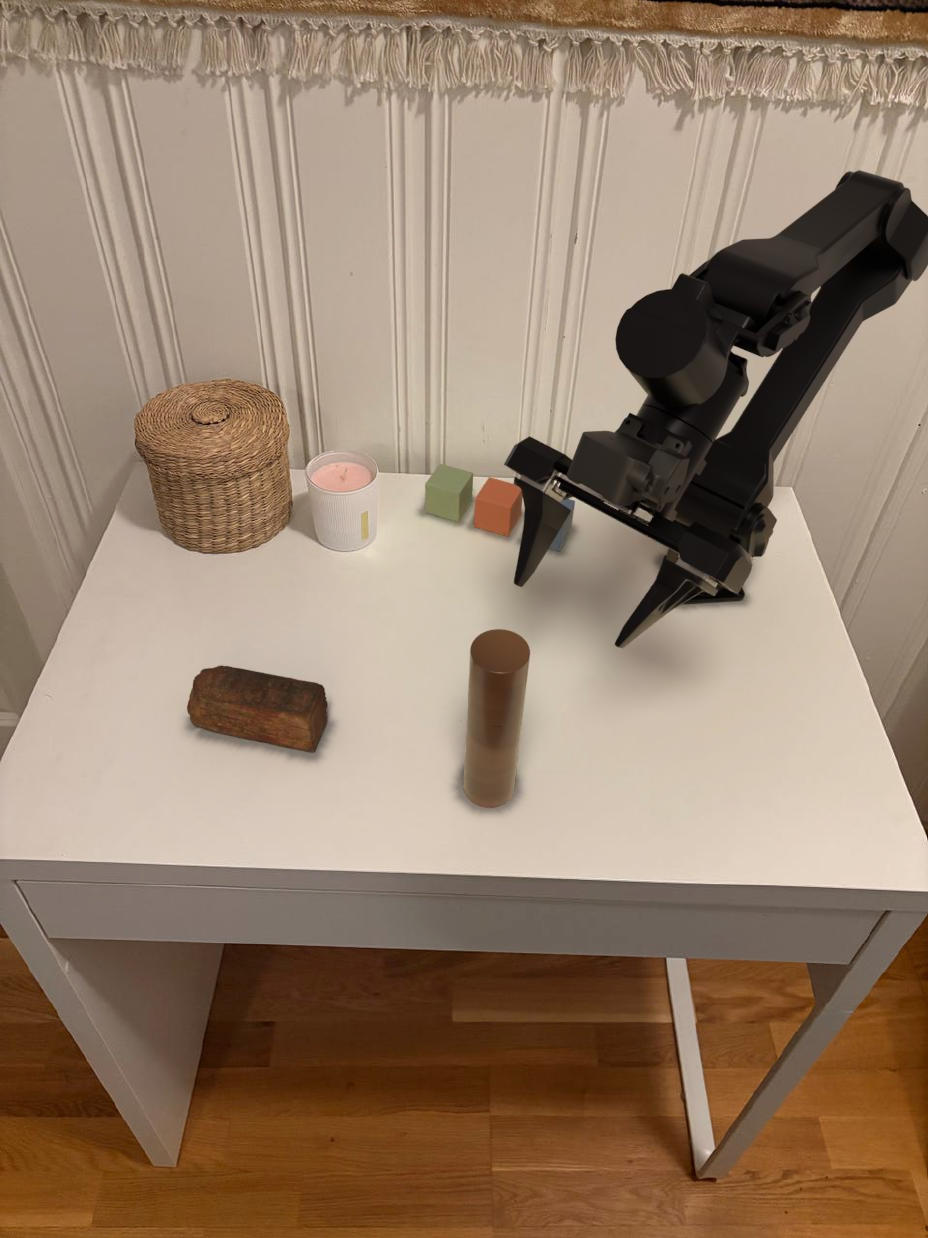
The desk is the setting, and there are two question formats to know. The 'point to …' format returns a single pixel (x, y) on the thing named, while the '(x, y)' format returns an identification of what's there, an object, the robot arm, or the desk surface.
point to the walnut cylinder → (494, 715)
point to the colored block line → (482, 502)
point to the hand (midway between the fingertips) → (566, 615)
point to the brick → (259, 706)
